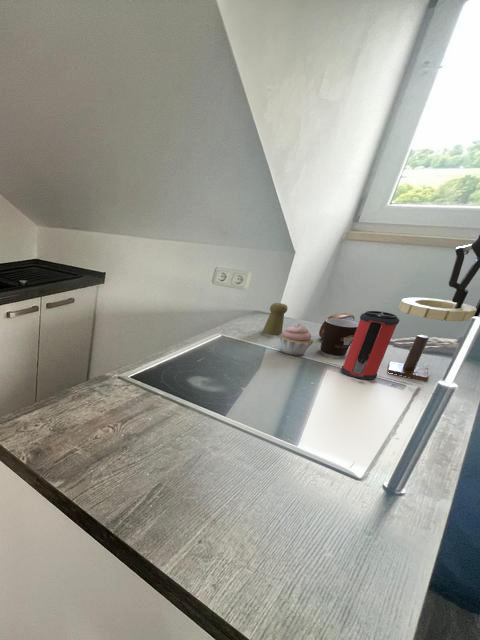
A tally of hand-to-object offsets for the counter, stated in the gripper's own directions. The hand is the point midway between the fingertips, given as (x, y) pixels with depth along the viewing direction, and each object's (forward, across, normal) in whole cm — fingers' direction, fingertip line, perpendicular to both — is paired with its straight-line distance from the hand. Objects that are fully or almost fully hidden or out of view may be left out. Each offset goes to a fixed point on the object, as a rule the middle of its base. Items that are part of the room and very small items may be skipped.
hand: (464, 316), depth 100 cm
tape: (0, -5, 0) cm, 5 cm away
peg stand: (+18, -5, 0) cm, 19 cm away
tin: (+18, -24, +22) cm, 38 cm away
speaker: (+18, -15, -10) cm, 26 cm away
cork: (+18, -41, +14) cm, 47 cm away
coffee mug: (+18, -21, +6) cm, 29 cm away
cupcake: (+18, -32, -3) cm, 37 cm away
